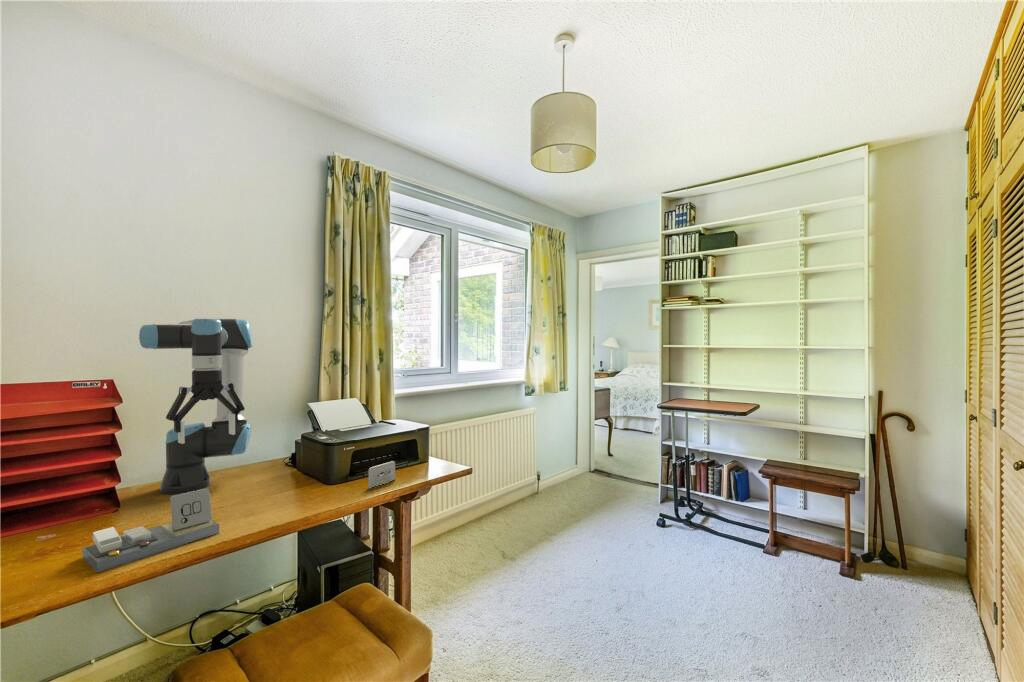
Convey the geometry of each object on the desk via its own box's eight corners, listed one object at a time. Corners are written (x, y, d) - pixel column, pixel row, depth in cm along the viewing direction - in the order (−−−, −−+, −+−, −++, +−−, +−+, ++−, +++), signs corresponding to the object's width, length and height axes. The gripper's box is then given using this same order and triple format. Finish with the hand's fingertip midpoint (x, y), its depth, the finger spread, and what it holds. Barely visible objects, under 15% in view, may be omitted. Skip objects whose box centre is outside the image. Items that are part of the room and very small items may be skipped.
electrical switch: (172, 532, 120) (172, 497, 121) (167, 528, 123) (167, 495, 124) (212, 521, 127) (211, 488, 128) (206, 518, 131) (205, 486, 131)
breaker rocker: (92, 538, 112) (93, 531, 111) (113, 532, 115) (113, 526, 115) (100, 553, 108) (101, 546, 108) (121, 547, 111) (122, 540, 111)
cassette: (392, 479, 174) (392, 460, 174) (396, 480, 173) (396, 461, 173) (367, 488, 164) (367, 467, 164) (370, 489, 163) (370, 468, 163)
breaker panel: (82, 557, 112) (82, 540, 112) (200, 522, 133) (200, 507, 133) (97, 572, 104) (97, 554, 104) (219, 533, 126) (219, 517, 126)
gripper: (161, 373, 122) (162, 449, 122) (256, 367, 142) (256, 432, 143) (151, 371, 126) (152, 444, 127) (245, 365, 146) (245, 429, 147)
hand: (207, 438), depth 135 cm, fingers open, 13 cm apart
